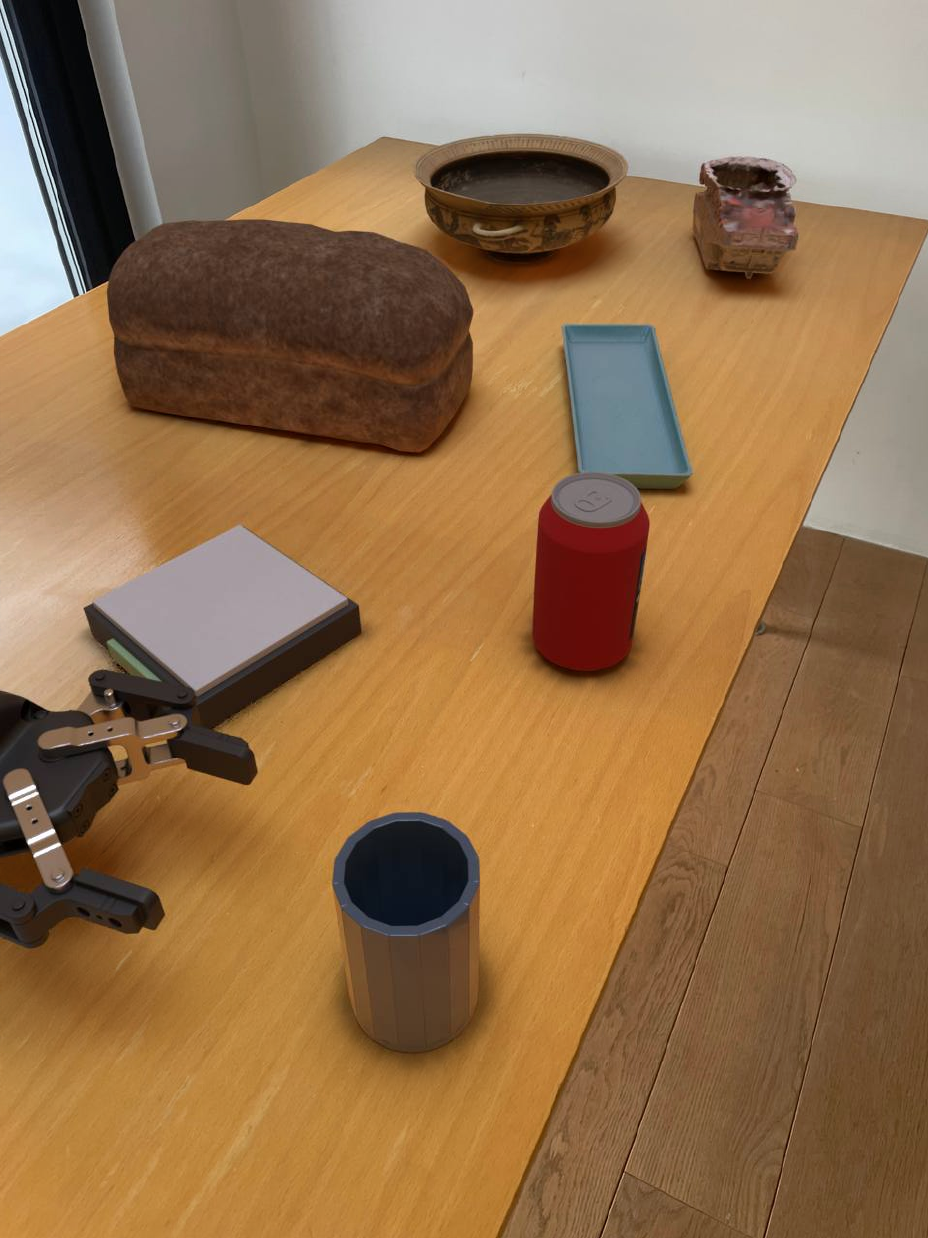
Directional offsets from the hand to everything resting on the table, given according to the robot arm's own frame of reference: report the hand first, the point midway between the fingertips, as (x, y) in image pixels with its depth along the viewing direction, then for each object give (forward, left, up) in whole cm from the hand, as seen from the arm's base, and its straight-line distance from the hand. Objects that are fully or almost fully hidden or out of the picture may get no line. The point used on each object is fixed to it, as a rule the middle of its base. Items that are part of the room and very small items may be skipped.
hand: (208, 835), depth 47 cm
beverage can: (+29, +1, -8) cm, 30 cm away
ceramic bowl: (+77, +50, -8) cm, 92 cm away
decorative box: (+92, +28, -8) cm, 97 cm away
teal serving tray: (+55, +18, -8) cm, 59 cm away
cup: (+4, -9, -8) cm, 13 cm away
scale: (+13, +19, -8) cm, 24 cm away
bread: (+37, +41, -8) cm, 56 cm away
